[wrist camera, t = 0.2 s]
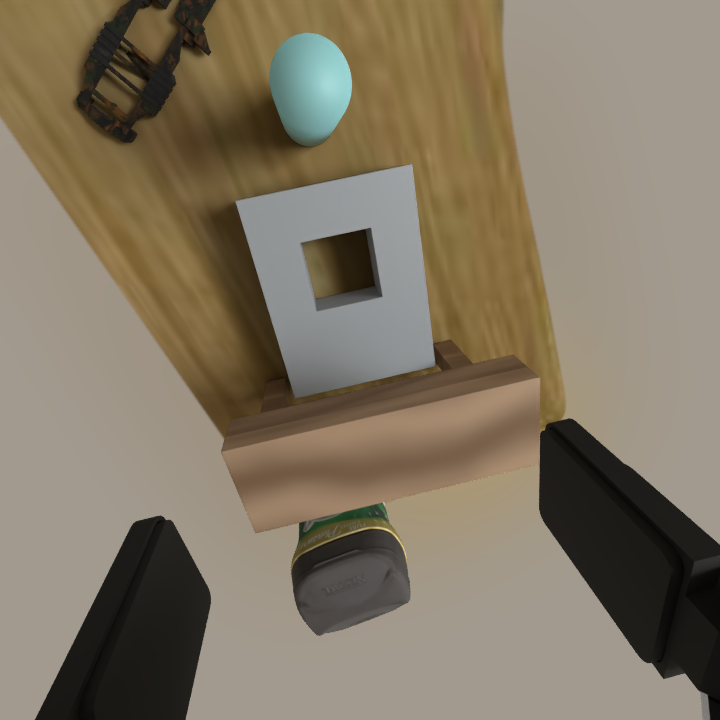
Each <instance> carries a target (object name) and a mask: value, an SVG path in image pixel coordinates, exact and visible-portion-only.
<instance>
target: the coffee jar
mask: <svg viewBox="0 0 720 720" xmlns="http://www.w3.org/2000/svg"><path fill="white" fill-rule="evenodd" d="M291 575H292V582H293V592H294V597H295V602H296V605H297V609H298V611H299V613H300V615H301V616H302V618H303V620H304V621H305V622H306V624H307V625H308V626H309V627H310V628H311V630H312V631H313V632H314V633H315V634H316V635H319V636H320V635H323V634H324V633H330V632H335V631H339V630H343V629H346V628H349V627H351V626H354V625H357V624H359V623H362V622H365V621H367V620H370V619H373V618H375V617H378V616H380V615H383V614H385V613H388V612H390V611H393V610H395V609H397V608H398V607H400V606H402V605H404V604H406V603H408V602H409V600H410V581H409V577H408V569H407V559H406V553H405V550H404V547H403V544H402V542H401V539H400V537H399V535H398V534H397V532H396V531H395V529H394V528H393V527H392V526H391V525H390V523H389V520H388V516H387V512H386V508H385V502H382V503H378V504H374V505H370V506H366V507H362V508H358V509H354V510H350V511H345V512H341V513H337V514H333V515H329V516H325V517H321V518H317V519H313V520H308V521H304V522H300V523H299V542H298V545H297V549H296V551H295V553H294V556H293V559H292V564H291Z"/></svg>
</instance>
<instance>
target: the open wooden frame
mask: <svg viewBox="0 0 720 720" xmlns="http://www.w3.org/2000/svg"><path fill="white" fill-rule="evenodd" d="M433 348H434V357H435V362H436V363H437V364H438V366H439V367H440V368H441V370H442V371H440V372H436V373H432V374H427V375H423V376H419V377H414V378H410V379H406V380H401V381H397V382H393V383H388V384H384V385H380V386H375V387H371V388H367V389H362V390H358V391H354V392H349V393H345V394H341V395H336V396H332V397H328V398H324V399H319V400H315V401H311V402H306V403H302V404H298V405H293V406H289V405H290V392H289V388H288V385H287V382H286V379H285V378H281V379H277V380H273V381H268V382H266V387H265V393H264V398H263V404H262V409H261V413H259V414H254V415H250V416H246V417H241V418H237V419H233V420H230V423H229V427H228V430H227V433H226V437H225V440H224V443H223V447H222V450H221V453H222V456H223V458H224V460H225V463H226V465H227V467H228V470H229V472H230V474H231V477H232V479H233V482H234V484H235V486H236V489H237V491H238V493H239V495H240V498H241V500H242V503H243V505H244V507H245V510H246V512H247V514H248V516H249V519H250V521H251V524H252V526H253V528H254V531H255V533H259V532H263V531H267V530H271V529H275V528H280V527H284V526H288V525H292V524H296V523H300V522H304V521H308V520H313V519H317V518H321V517H325V516H329V515H333V514H337V513H341V512H345V511H350V510H354V509H358V508H362V507H366V506H370V505H374V504H378V503H382V502H387V501H391V500H395V499H399V498H403V497H407V496H411V495H415V494H419V493H423V492H428V491H432V490H436V489H440V488H444V487H448V486H452V485H456V484H460V483H464V482H469V481H473V480H477V479H481V478H485V477H489V476H493V475H498V474H501V473H506V472H510V471H514V470H518V469H522V468H526V467H530V466H535V465H538V464H539V425H540V377H539V376H538V375H537V374H536V373H534V372H533V371H532V370H531V369H530V368H528V367H527V366H526V365H525V364H524V363H522V362H521V361H520V360H519V359H518V358H516V357H515V356H514V355H510V356H505V357H501V358H497V359H492V360H488V361H484V362H479V363H475V364H473V363H472V362H471V361H470V360H469V359H468V358H467V357H466V356H465V355H464V353H463V352H462V351H461V350H460V349H459V348H458V347H457V346H456V345H455V344H454V343H453V342H452V340H448V341H444V342H439V343H435V344H433Z"/></svg>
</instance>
